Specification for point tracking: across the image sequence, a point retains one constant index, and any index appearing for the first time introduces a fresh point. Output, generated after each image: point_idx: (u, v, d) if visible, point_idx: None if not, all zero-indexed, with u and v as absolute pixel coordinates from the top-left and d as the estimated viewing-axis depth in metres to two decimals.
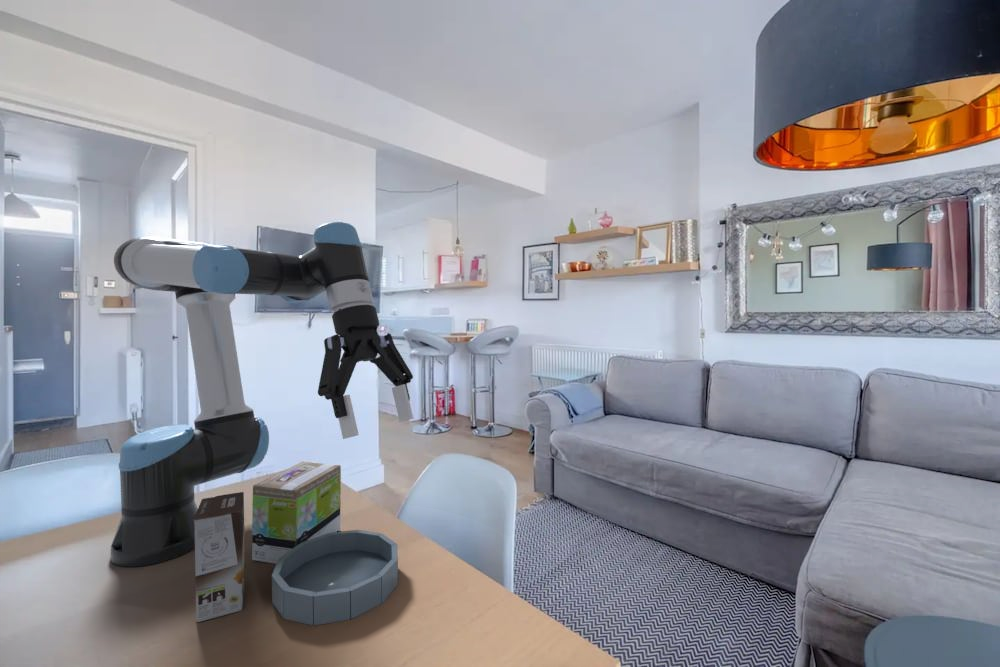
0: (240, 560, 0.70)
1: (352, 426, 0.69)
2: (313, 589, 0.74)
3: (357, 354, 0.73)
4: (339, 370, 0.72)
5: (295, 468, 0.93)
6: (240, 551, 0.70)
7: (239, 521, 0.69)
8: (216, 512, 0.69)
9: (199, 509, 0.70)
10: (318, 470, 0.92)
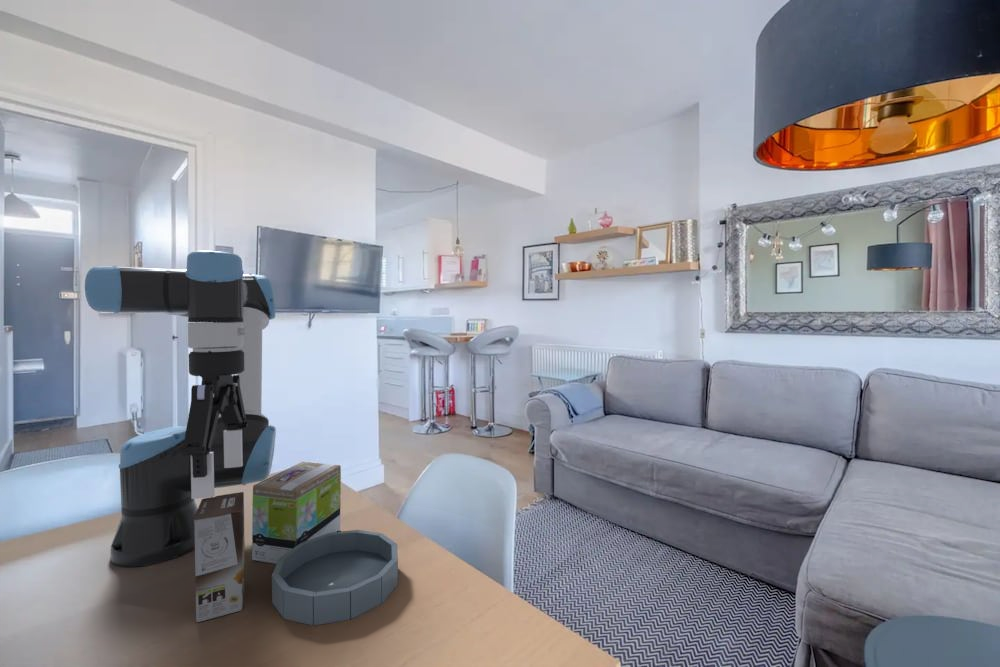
0: (240, 560, 0.70)
1: (210, 487, 0.65)
2: (313, 589, 0.74)
3: (223, 405, 0.68)
4: None
5: (295, 468, 0.93)
6: (240, 551, 0.70)
7: (239, 521, 0.69)
8: (216, 512, 0.69)
9: (199, 509, 0.70)
10: (318, 470, 0.92)
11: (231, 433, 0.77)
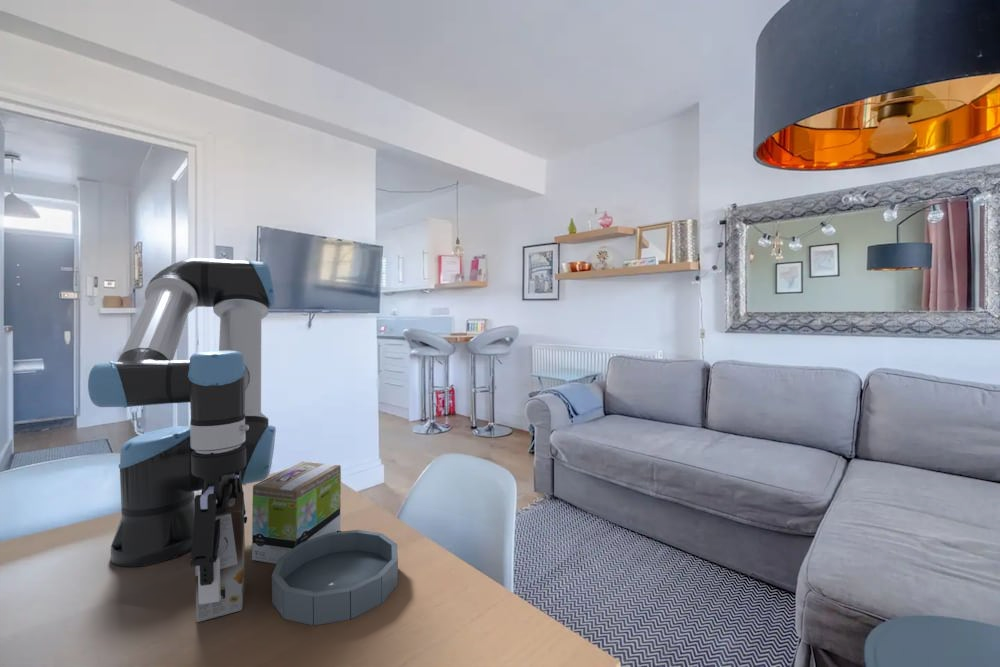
0: (240, 560, 0.70)
1: (217, 592, 0.67)
2: (313, 589, 0.74)
3: (226, 506, 0.69)
4: None
5: (295, 468, 0.93)
6: (240, 551, 0.70)
7: (239, 521, 0.69)
8: None
9: None
10: (318, 470, 0.92)
11: None
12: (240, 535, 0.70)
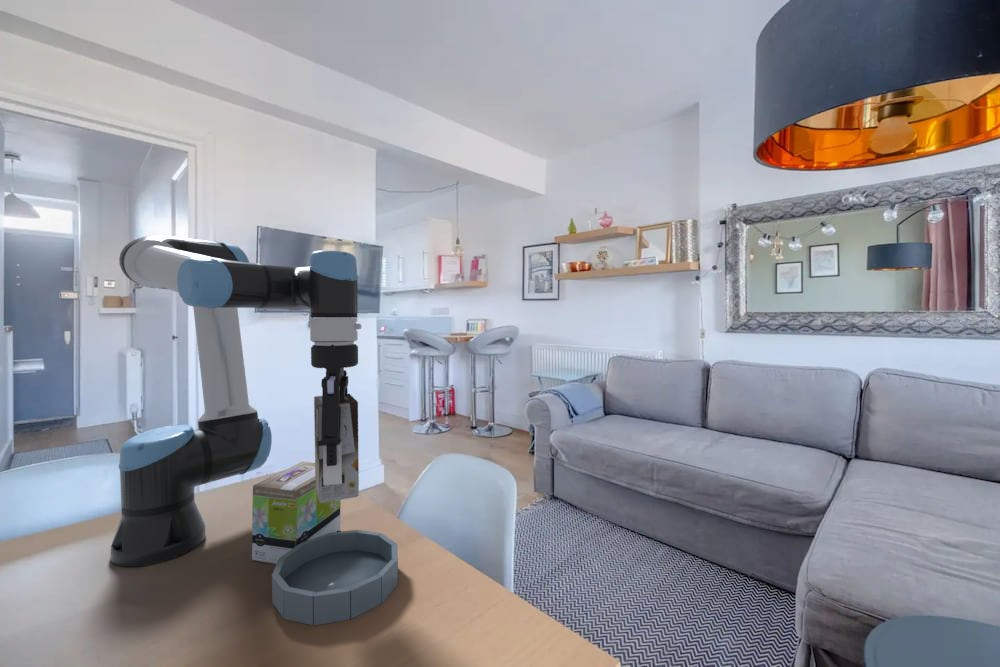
0: (357, 448, 0.73)
1: (339, 474, 0.71)
2: (313, 589, 0.74)
3: (344, 397, 0.73)
4: None
5: (295, 468, 0.93)
6: (357, 440, 0.73)
7: (356, 411, 0.73)
8: None
9: (317, 400, 0.74)
10: None
11: None
12: (357, 425, 0.73)
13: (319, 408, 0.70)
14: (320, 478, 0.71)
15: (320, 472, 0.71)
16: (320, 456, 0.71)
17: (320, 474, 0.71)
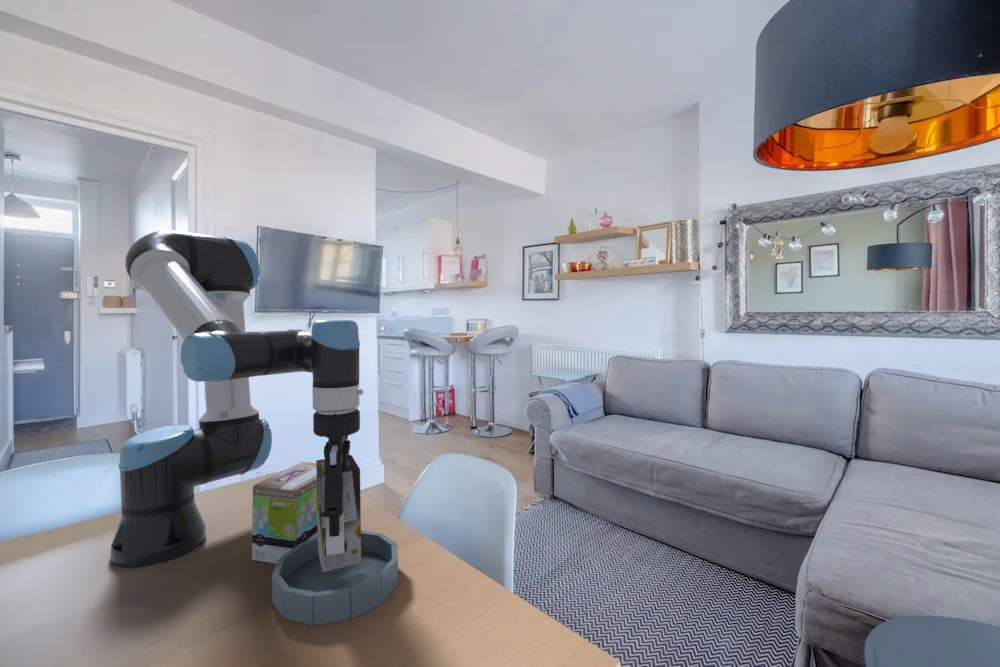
0: (359, 515, 0.74)
1: (342, 544, 0.71)
2: (313, 589, 0.74)
3: (346, 464, 0.74)
4: None
5: (295, 468, 0.93)
6: (359, 507, 0.74)
7: (358, 478, 0.74)
8: None
9: (320, 467, 0.74)
10: None
11: None
12: (359, 492, 0.74)
13: (322, 478, 0.71)
14: (323, 547, 0.71)
15: (323, 541, 0.71)
16: (323, 526, 0.71)
17: (323, 543, 0.71)
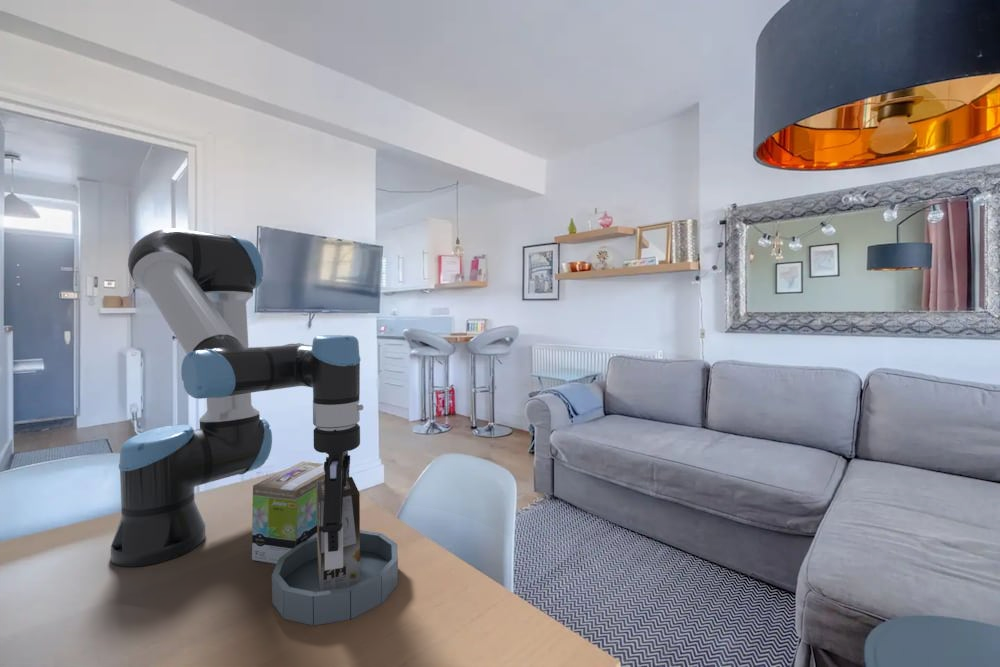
0: (358, 539, 0.74)
1: (341, 558, 0.70)
2: (313, 589, 0.74)
3: (346, 479, 0.74)
4: None
5: (295, 468, 0.93)
6: (358, 531, 0.74)
7: (358, 503, 0.74)
8: None
9: (320, 491, 0.75)
10: (317, 470, 0.92)
11: None
12: (358, 516, 0.74)
13: (321, 503, 0.71)
14: (322, 572, 0.72)
15: (322, 566, 0.72)
16: (322, 550, 0.72)
17: (322, 568, 0.72)
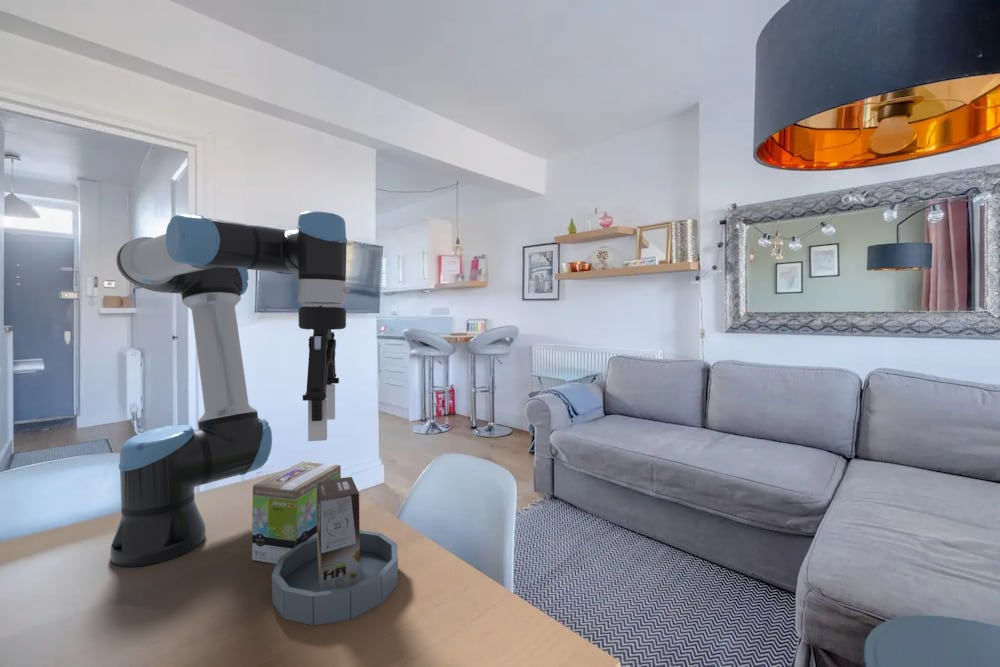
0: (358, 539, 0.74)
1: (325, 431, 0.70)
2: (313, 589, 0.74)
3: (331, 357, 0.73)
4: None
5: (295, 468, 0.93)
6: (358, 531, 0.74)
7: (358, 503, 0.74)
8: (337, 493, 0.74)
9: (319, 491, 0.75)
10: (317, 470, 0.92)
11: (326, 387, 0.82)
12: (358, 516, 0.74)
13: (321, 503, 0.71)
14: (322, 572, 0.72)
15: (322, 566, 0.72)
16: (322, 550, 0.72)
17: (322, 568, 0.72)
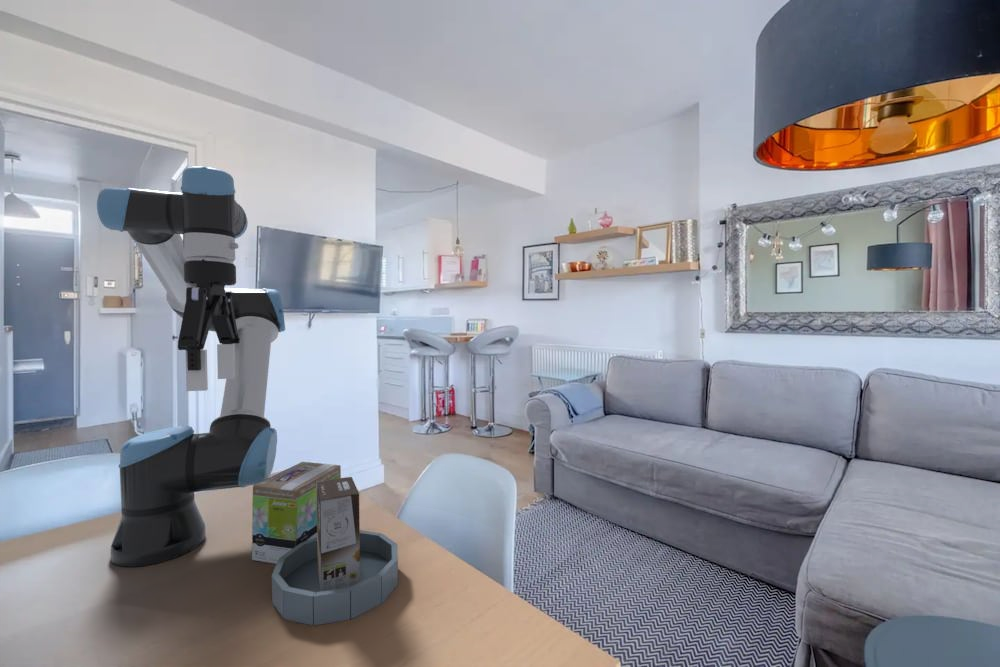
0: (358, 539, 0.74)
1: (204, 381, 0.70)
2: (313, 589, 0.74)
3: (215, 310, 0.74)
4: None
5: (295, 468, 0.93)
6: (358, 531, 0.74)
7: (358, 503, 0.74)
8: (337, 493, 0.74)
9: (319, 491, 0.75)
10: (317, 470, 0.92)
11: (224, 346, 0.83)
12: (358, 516, 0.74)
13: (321, 503, 0.71)
14: (322, 572, 0.72)
15: (322, 566, 0.72)
16: (322, 550, 0.72)
17: (322, 568, 0.72)
